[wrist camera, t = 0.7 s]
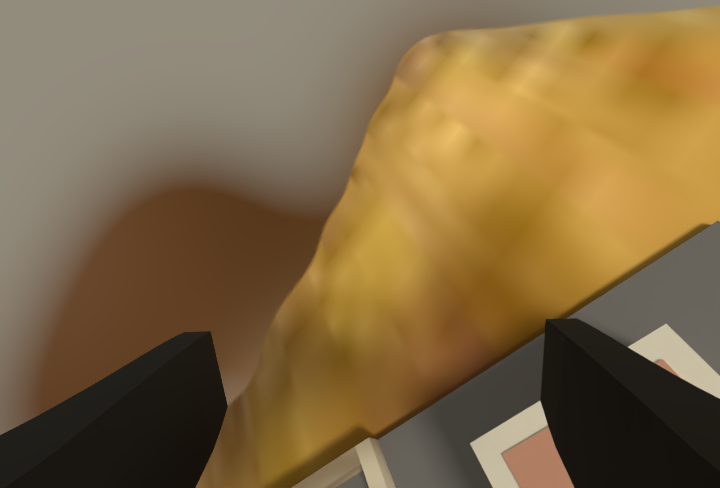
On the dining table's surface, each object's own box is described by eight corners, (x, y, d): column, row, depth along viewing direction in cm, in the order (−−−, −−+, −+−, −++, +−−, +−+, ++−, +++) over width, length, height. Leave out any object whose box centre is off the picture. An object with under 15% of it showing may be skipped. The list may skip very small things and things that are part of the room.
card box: (670, 356, 20) (666, 322, 17) (777, 467, 17) (798, 451, 13) (502, 456, 22) (468, 443, 19) (568, 574, 18) (541, 583, 15)
